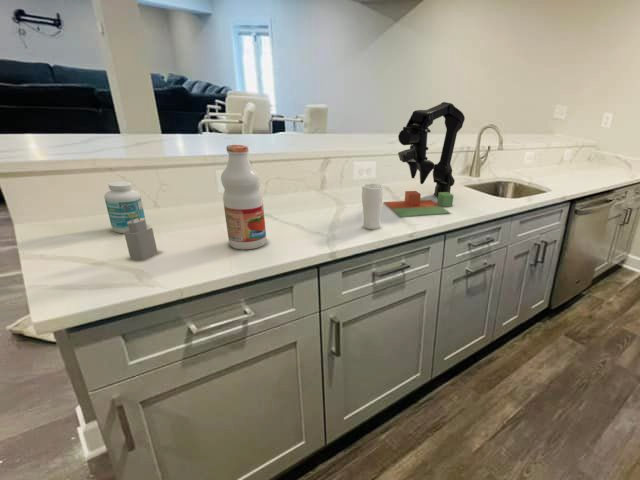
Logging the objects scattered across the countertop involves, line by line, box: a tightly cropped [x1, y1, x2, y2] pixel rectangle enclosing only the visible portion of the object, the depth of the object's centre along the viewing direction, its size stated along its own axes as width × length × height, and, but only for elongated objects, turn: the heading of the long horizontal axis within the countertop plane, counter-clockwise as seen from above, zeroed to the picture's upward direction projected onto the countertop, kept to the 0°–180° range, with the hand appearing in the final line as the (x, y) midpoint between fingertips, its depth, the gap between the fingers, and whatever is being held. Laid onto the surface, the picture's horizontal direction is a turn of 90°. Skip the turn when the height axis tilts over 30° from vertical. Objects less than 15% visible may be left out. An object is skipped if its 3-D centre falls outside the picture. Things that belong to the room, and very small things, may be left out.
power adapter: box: [123, 210, 159, 262], centre depth 95 cm, size 3×5×12 cm, turn 177°
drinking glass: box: [361, 183, 383, 230], centre depth 133 cm, size 7×7×15 cm
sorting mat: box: [384, 199, 451, 218], centre depth 162 cm, size 22×18×1 cm
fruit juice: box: [220, 144, 267, 250], centre depth 106 cm, size 9×9×28 cm
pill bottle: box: [104, 181, 147, 234], centre depth 107 cm, size 8×7×14 cm
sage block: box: [437, 192, 454, 207], centre depth 171 cm, size 5×5×5 cm
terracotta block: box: [404, 190, 422, 206], centre depth 164 cm, size 5×5×5 cm
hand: (417, 181), depth 162 cm, fingers open, 9 cm apart
